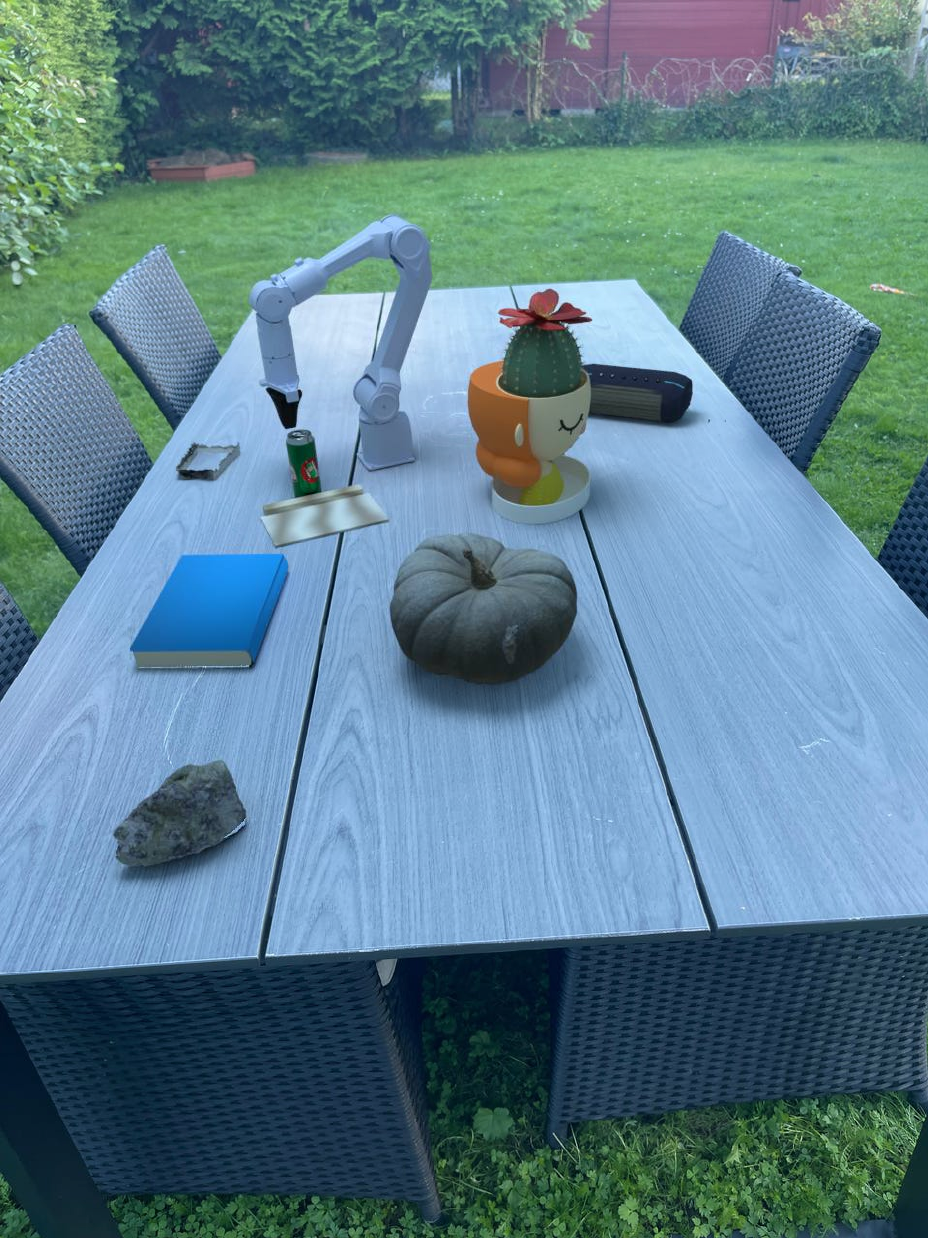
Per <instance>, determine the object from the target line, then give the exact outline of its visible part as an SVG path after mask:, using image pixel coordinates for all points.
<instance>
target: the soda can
mask: <svg viewBox="0 0 928 1238" xmlns="http://www.w3.org/2000/svg"><path fill="white" fill-rule="evenodd" d="M286 435H287V436H286V437H287V438H286V439H285V445H286V451H287V459H288V464H289V471H290V476H291V483H292V489H293V495H294V497H295V498H299V497H303V496H308V495H312V494H317V493H322V492H323V490H322V484H321V483H322V482H321V481H322V480H321V476H320V475H321V474H320V469H319V461H318V455H317V446H316V440H315V436H314V435H313V433H312V431H310V430H308V429H304V428H303V429H295V430H291V431H289V432H288V433H287V434H286Z"/></svg>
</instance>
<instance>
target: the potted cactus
mask: <svg viewBox="0 0 928 1238" xmlns="http://www.w3.org/2000/svg"><path fill="white" fill-rule="evenodd" d="M559 300H560V296H559V293H558V292H557V290H554V289H552V288H546V289H545V290H544V291H537V292H535V293H533V295H531V296H530V299H529V302H528V303H529V304H528V308H520V307H518V308H517V309H516V308H511V307H505V308H500V309H499V310H498V312H497V314H498V315H500V317H499V319H500V320H499V321H498V322H499V324H502V325H504V326H505V327H507V328H509V329H512V331H514V333H515V334H513V335H512V334H511V332H510V333H509V335H507V336H508V339H509V340H510V341H509V340H506V341H504V344H505V345H507V346H508V347H507V348H506V347H504V348H503V354H505V355H504V357H503V356H502V355H500V354H499V355H500V356H499V357H500V358H498V359H500V360H499V361H495V362H490V363H487V364H484V365H482V366H479V367H478V368H476V369H474V370H473V371H472V372H471V374H470V377H469V381H468V382H469V383H468V388H467V409H468V417H469V420H470V421H469V422H470V424H471V427H472V429H473V431H474V432H475V435H476V436H477V438H478V440H477V442H476V447H475V456H476V461H477V463H478V465H479V466H480V468H481V470H482V471H483V472H484V473H485V474H486V475H488V476H490V477H492V480H491V504H492V508H493V510H494V512H495V513H497V514H498V515H499V516H500V517H502V518H503V519H505V520H508V521H510V522H513V523H516V524H517V523H518V524H523V525H542V524H543V525H544V524H551V523H554V522H558V521H562V520H565V519H567V518H570V517H571V516H573V515H575V514H577V513H578V512H579V511H580V510H582V509H583V508H584V507H585V506H586V505H587V503H588V501H589V500H590V496H591V480H592V479H591V477H592V474H591V471H590V468H589V467H588V465H587V464H585V462H584V461H582V460H580V459H579V458H575V457H573V456H570V455H568V454H567V455H566V452H568V451H569V450H570V449H571V448H572V447H573V446H574V445H575V443H576V442H577V441H578V440H579V438H580V436H581V435H583V434H584V433H585V431H586V427H587V421H588V418H589V414H590V413H589V412H590V407H591V405H590V400H591V385H590V379H589V375H588V373H587V372H586V371H585V370H583V369H584V367H583V369H582V365H587V363H586V361H582V358H583V357H584V358H585V353H584V352H583V353H582V354H581V350H580V349H581V348H584V345H582V344H580V345H579V343H578V342H579V340H580V339H582V338H579V337H580V335H578V336H577V337H575V334H576V333H575V331H574V330H572V331H571V332H570V328H571V326H572V325H576V324H584V323H591V322H593V319H592V317H589V316H585V315H587V312H586V311H583V310H582V309H581V308H579V307H575V306H574V305H573V304H572V303H570V302H567V301H566V302H563V303H562V304H561V305H560V306H559V307H558V309H557V310H556V308H557V306H558V305H559ZM555 310H556V311H555ZM554 311H555V312H554ZM501 316H503V317H504V316H505V317H507V318H503V317H501ZM565 324H567V325H566V326H565ZM578 345H579V346H578Z"/></svg>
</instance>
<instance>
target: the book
mask: <svg viewBox="0 0 928 1238" xmlns="http://www.w3.org/2000/svg"><path fill="white" fill-rule="evenodd" d="M288 571H289V563H288V560H287V558H286V557H285V555H284V553H240V554H238V553H236V554H235V553H234V554H230V553H229V554H181V556H180V558H179V560H178V561H177V563H176V565H175V566H174V569H173V570H172V572H171V574H170V575H169V577H168V579H167V580H166V582H165V585H164V586H163V588H162V590H161V592H160V593H159V595H158V597H157V598H156V601H155V602H154V604H153V605H152V608H151V610H150V612H149V613H148V615H147V617H146V619H145V620H144V622H143V624H142V625H141V628H140V629H139V631H138V633H137V634H136V637H135V639H134V640H133V641H132V643H131V645H130V647H129V652H132V653H133V656H134V657H133V658H134V661H135V663H136V666H137V668H138V667H177V666H178V667H180V666H181V667H185V666H187V667H188V666H189V667H190V666H191V667H192V666H195V667H196V666H241V665H242V666H246V665H252V664H253V663H255V661H256V659H257V655H258V652H259V650H260V647H261V644H262V642H263V639H264V637H265V633H266V631H267V629H268V626H269V622H270V620H271V617H272V615H273V612H274V609H275V606H276V604H277V601H278V598H279V596H280V593H281V589H282V587H283V584H284V582H285V580H286V578H287V577H286V576H287V574H288Z"/></svg>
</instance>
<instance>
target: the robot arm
mask: <svg viewBox="0 0 928 1238" xmlns="http://www.w3.org/2000/svg"><path fill="white" fill-rule="evenodd" d="M431 247H432V244H431V242H430V241H429V239H428V238H427V236H426V233H425V232H424V230H423V229H422V228H421V227H420V226H419V225H416V224H414V223H411V222H409V221H407V220H405V218H403V217H402V216H400V215H398V214H387V215H385V216H384V217H382V218H381V219H380V220H376V221H374V222H371V223H370V224H369V225H368V226H367V227H365V228H364V229H362V230H361V231H360V232H359V233H357V234H355V235H353V236H352V237H351V238H349V239H348V240H346V241H345V242H343V243H342V244H340V245H339V246H337V247H336V248H334V249H332V250H331V251H329V252H328V253H327V254H325V255H324V256H322V257H321V258H319V259H315V258H312V257H306V258H305V259H303V258H302V257H298V258H296V259H295V260H294V265H292V266H290V267H289V268H287V269H286V270H284V271H282V272H280V273H279V274H276V273H273V274H271V275H270V279H271V280H268V279H267V280H266V279H264V280H260V281H258V282H256V283H255V284H254V285H253V286H252V289H251V290H250V293H249V298H248V302H249V305H250V307H251V308H252V309H253V310H254V311H255V312H256V313H255V318H256V319H255V320H256V321H255V322H256V325H257V336H258V342H259V348H260V354H261V360H262V365H263V371H264V378H263V379H259V380H258V383H259V386H260V387H262V388H265V387H266V388H265V391H266V393H267V394H268V395H269V397H270V399H271V401H272V403H273V406H275V409H276V412H277V415H278V418H279V421H280V423H281V425H282V427H283V428H284V429H285V430H289V429H295V428H297V423H298V411H299V410H298V409H299V405H300V402H301V399H302V397H303V391H302V389H299V385H300V381H301V379H300V375H299V374H298V367H297V360H296V354H295V348H294V342H293V334H292V328H291V324H290V319H289V316H290V314H291V312H292V308H295V307H297V306H299V305H301V304H302V303H304V302H306V301H307V300H309V299H311V298H313V297H314V296H315V295H317V294H319V293H321V292H323V291H324V290H326V289H327V285H328V283H329V279H330V278H332V277H333V276H336V275H337V274H340V273H341V272H344V271H345V270H347V269H349V268H352V267H353V266H355V265H357V264H358V263H361V262H363V261H364V260H366V259H368V258H374V259H375V258H377V259H383V260H392V263H393V266H394V267H395V269H396V271H397V273H398V274H399V277H400V280H399V282H398V286H397V288H396V292H395V293H394V297H393V300H392V303H391V306H390V309H389V312H388V315H387V317H386V318H387V319H386V321H385V324H384V327H383V331H382V333H381V336H380V339H379V342H378V344H377V348H376V350H375V354H374V357H373V360H372V361H370V363H369V364H367V365H366V366H365V367H364V370H363V373H362V375H361V376H360V377H359V378H358V380H357V381H356V382H355V383H354V386H353V388H352V389H353V390H352V395H353V398H354V401H355V402H356V403H357V404H358V405H359V408H360V409H359V413H358V422H359V423H358V424H359V432H360V442H361V449H362V451H360V452H357V453H356V457H357V458H358V459H359V460H360V462H361V463H362V465H364V467H365V468H366V469H367V470H368V471H374V470H378V469H383V468H389V467H393V466H398V465H402V464H406V463H411V462H415V461H416V460H415V457H414V450H413V449H414V447H413V436H412V426H411V422H410V419H409V415H407V413H406V412H405V411H402V410H400V405H401V404H400V393H401V390H402V381H401V374H400V372H401V371H402V367H403V364H404V361H405V359H406V355H407V353H408V350H409V347H410V344H411V342H412V340H413V339H412V338H413V335H414V333H415V330H416V327H417V324H418V321H419V319H420V315H421V312H422V310H423V307H424V304H425V301H426V299H427V296H428V293H429V290H430V287H431V285H432V282H433V281H432V280H433V272H432V265H431V264H432V261H431V255H430V254H431V253H430V250H431Z"/></svg>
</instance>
